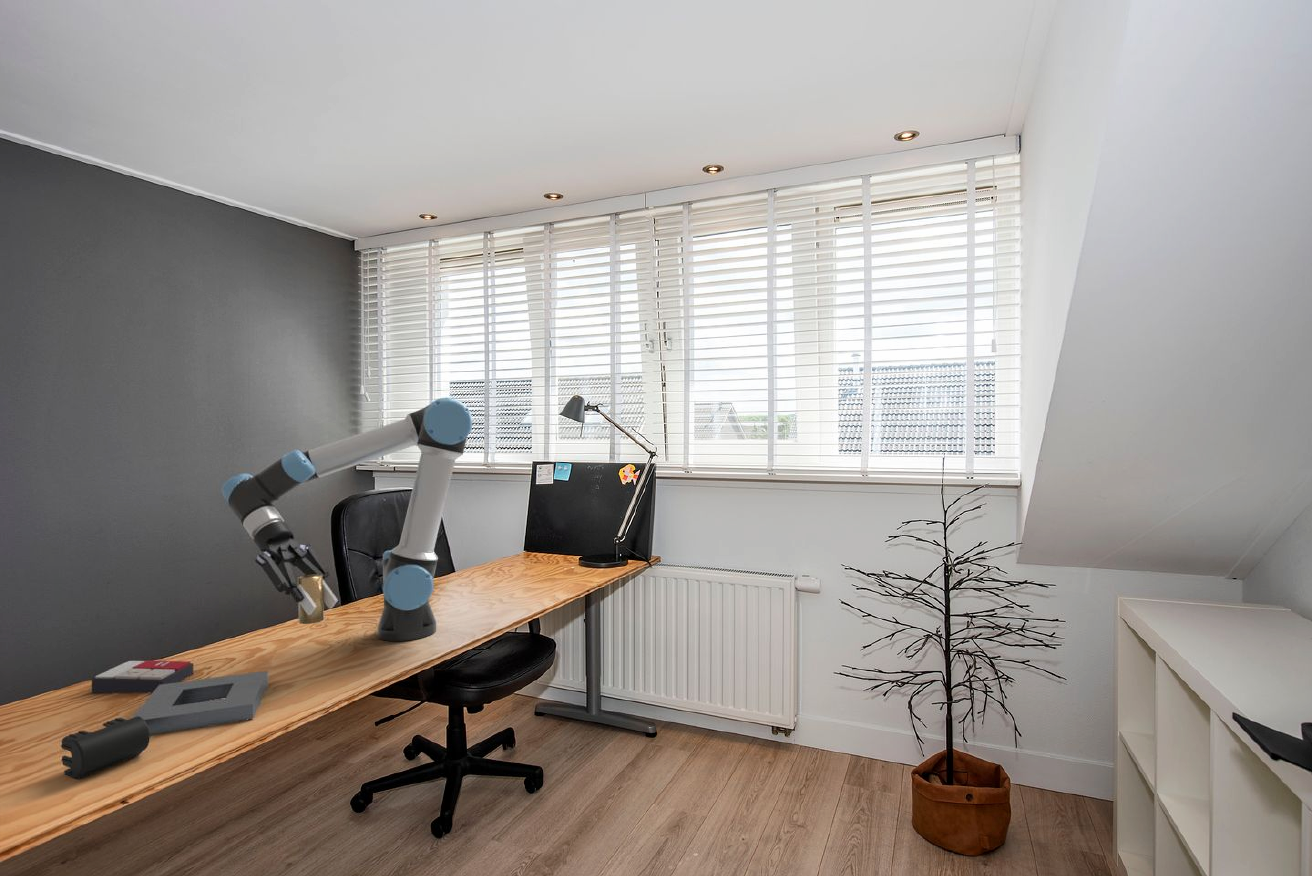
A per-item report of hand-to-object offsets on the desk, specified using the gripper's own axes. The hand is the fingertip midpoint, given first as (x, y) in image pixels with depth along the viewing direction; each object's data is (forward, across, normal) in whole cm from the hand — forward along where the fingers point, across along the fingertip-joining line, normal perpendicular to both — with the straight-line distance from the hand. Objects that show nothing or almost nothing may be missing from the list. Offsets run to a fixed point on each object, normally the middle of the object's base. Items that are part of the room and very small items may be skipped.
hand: (323, 607), depth 154 cm
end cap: (+10, +42, -13) cm, 46 cm away
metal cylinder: (0, 0, -5) cm, 5 cm away
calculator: (-14, +16, -38) cm, 44 cm away
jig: (+4, +20, -19) cm, 28 cm away
